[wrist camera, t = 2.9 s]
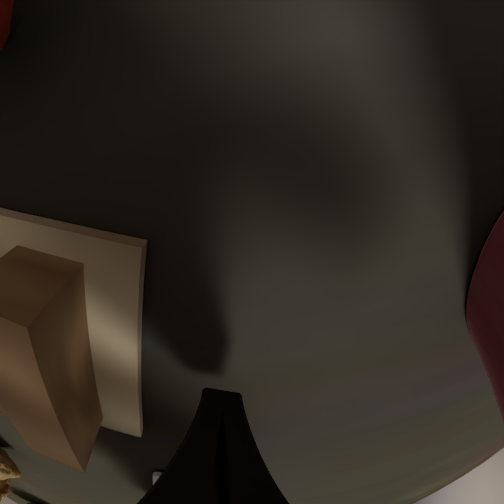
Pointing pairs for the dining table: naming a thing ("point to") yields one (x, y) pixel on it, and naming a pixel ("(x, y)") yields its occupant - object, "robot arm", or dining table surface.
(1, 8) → the onion
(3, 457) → the ginger root
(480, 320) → the plant pot
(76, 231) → the board
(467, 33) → the dining table surface
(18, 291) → the t block
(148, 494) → the robot arm
